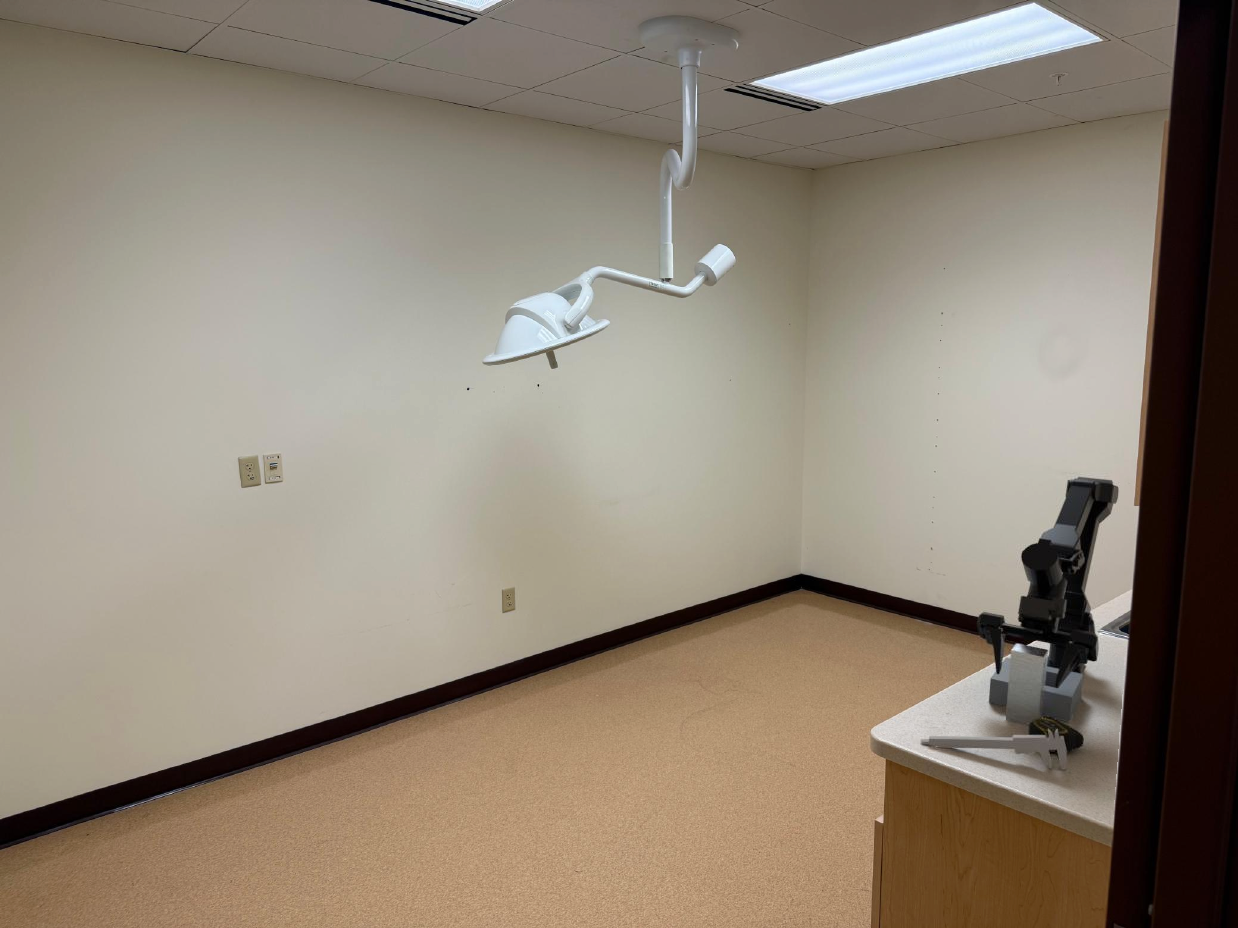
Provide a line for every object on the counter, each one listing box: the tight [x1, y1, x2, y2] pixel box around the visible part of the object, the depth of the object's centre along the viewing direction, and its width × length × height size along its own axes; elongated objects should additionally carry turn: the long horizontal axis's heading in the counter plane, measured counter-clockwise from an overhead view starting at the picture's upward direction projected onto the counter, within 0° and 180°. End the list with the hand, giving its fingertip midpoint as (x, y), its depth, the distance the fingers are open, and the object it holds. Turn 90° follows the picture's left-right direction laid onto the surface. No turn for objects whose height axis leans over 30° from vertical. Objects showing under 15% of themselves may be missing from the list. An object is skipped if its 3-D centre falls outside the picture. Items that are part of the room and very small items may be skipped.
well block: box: [988, 657, 1084, 723], centre depth 152 cm, size 12×13×4 cm
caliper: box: [920, 729, 1068, 771], centre depth 132 cm, size 21×1×6 cm, turn 66°
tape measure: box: [1028, 716, 1085, 754], centre depth 135 cm, size 7×7×4 cm
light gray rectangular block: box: [1005, 642, 1049, 727], centre depth 144 cm, size 4×5×12 cm
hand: (1026, 679), depth 143 cm, fingers open, 9 cm apart
